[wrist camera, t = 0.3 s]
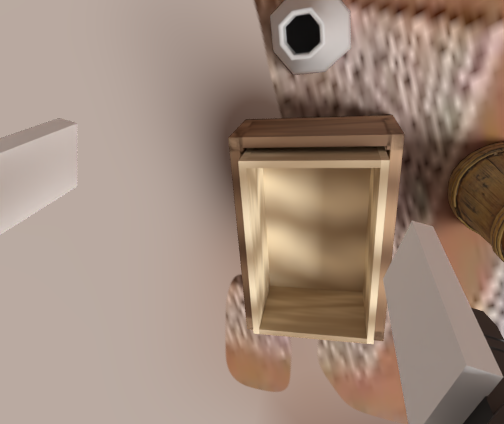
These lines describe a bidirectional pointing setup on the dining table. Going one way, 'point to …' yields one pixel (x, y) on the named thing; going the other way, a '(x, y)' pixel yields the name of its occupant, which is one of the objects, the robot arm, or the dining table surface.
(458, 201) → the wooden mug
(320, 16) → the flask
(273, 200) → the pine crate
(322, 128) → the wooden drawer box
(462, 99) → the dining table surface
